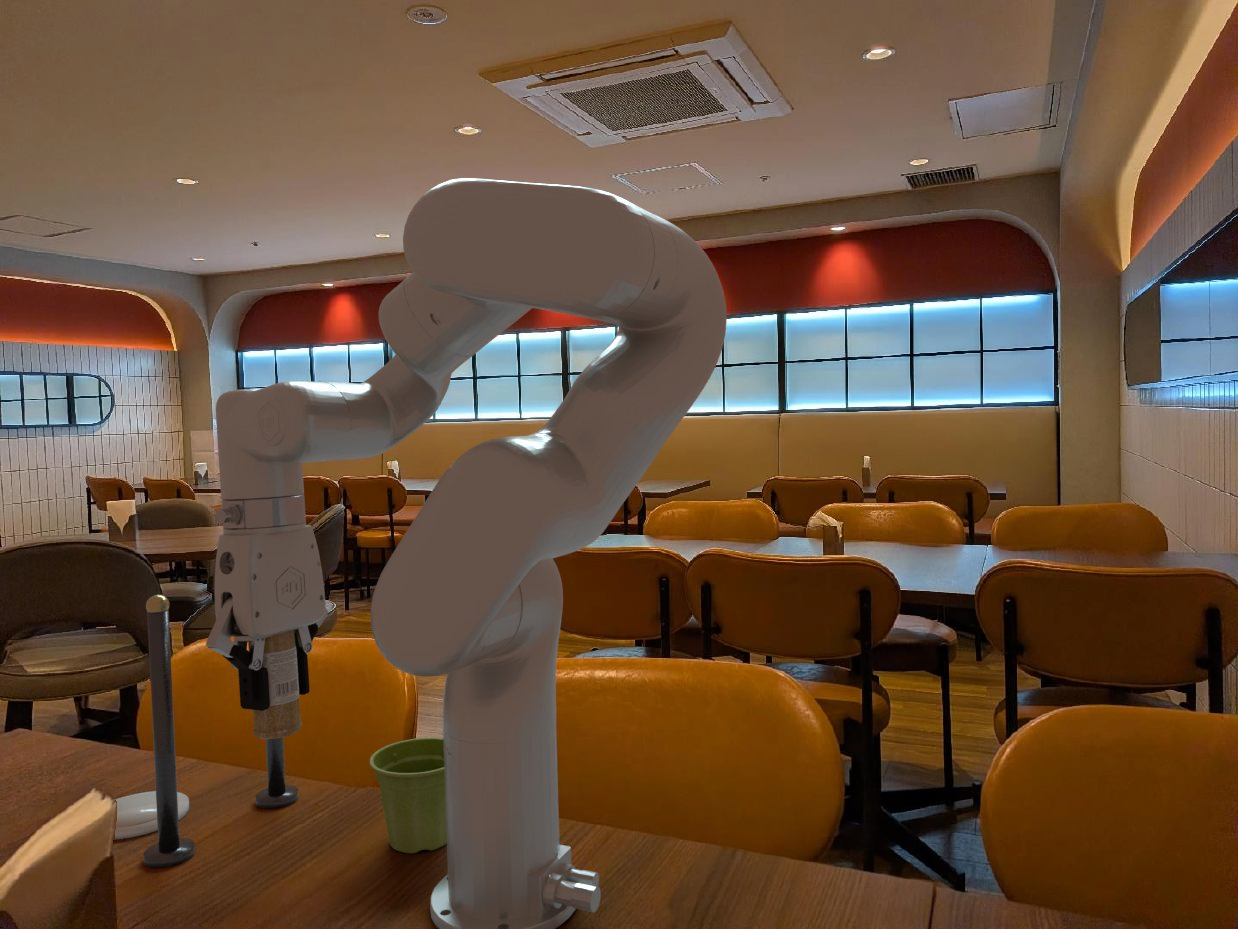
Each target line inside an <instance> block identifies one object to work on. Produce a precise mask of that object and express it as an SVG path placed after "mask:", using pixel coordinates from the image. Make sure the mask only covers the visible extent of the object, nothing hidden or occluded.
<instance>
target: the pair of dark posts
mask: <svg viewBox="0 0 1238 929" xmlns="http://www.w3.org/2000/svg"><path fill="white" fill-rule="evenodd" d="M145 609H146V614H147V615H146V616H147V635H148V637H147V638H148V654H149V655H148V656H149V657H148V658H149V673H150V674H149V675H150V677H149V678H150V693H151V694H150V695H151V696H150V697H151V700H150V701H151V717H152V719H151V720H152V737H153V758H154V761H153V762H154V777H155V778H154V779H155V791H156V804H157V825H158V830H157V841H158V842H156V843H154V844H152V845H150V846H149V847H148V848H146V849H145V850H144V852H143V854H142V855H143V865H144V866H145V867H147V868H150V869H163V868H169V867H174V866H177V865H180V864H182V863H185V862H187V861H188V860H189V859H191V858H192V857H193V856H194V855H195V854H196V852H195V851H196V848H195V846H196V844H195V843H196V842H195V841H194V840H193V839H192V838H188V837H180V827H179V825H180V824H179V820H178V800H177V792H178V782H177V781H178V779H177V762H176V760H177V759H176V744H175V743H176V740H175V738H176V737H175V718H174V698H173V695H174V694H173V679H172V678H173V677H172V676H173V675H172V656H171V655H172V652H171V634H170V614H169V609H170V601H169V599H168V598H167V597H166V596H164V595H163V594H155V595H153V596H151V597H149V598H148V599H147V600H146V603H145ZM284 743H285V742H284V737H282V738H276V739H265V752H266V775H267V776H266V777H267V788H264V789H262V790H260V791H259V792H257V793H256V794H255V805H256V807H257V808H259V809H263V810H265V809H267V810H271V809H280V808H283V807H286V806H289V805H292V804H293V803H295V802H296V801H297V800H298V799H299V789H298V787H296V786H295V785H290V784H286V770H285V767H286V766H285V747H284Z"/></svg>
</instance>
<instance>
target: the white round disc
mask: <svg viewBox="0 0 1238 929" xmlns="http://www.w3.org/2000/svg"><path fill="white" fill-rule="evenodd" d="M114 800H116V801H117V822H116V830H115V839H114V840H123V839H124V838H125V839H131V838H136V837H140V836H144V835H147V834H151V833H154V832H158V825H157V804H156V790H153V791H145V792H139V793H134V794H130V795H126V796H122V797H118V798H115V799H114ZM177 800H178V821H180V820H182V819H183V818H184V817H185V816H186V815H187V814H188V813H189V811H190V798H189V797H188V796H187V795H186V794H184V793H182V792H179V791H177Z"/></svg>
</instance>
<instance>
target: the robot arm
mask: <svg viewBox="0 0 1238 929" xmlns="http://www.w3.org/2000/svg"><path fill="white" fill-rule="evenodd" d="M403 227H404V229H403V235H402V244H403V245H402V247H403V248H402V249H403V253H404V258H405V261H406V262H407V264H408V266H409V269H410V271H411V272H412V273H410V274H409V275H407V277H406V278H405V279H404V280H402V282H400V283H399V284H398V285H397V286H396V287H394V288H393V289H392V290H391V291H390V292H389V293H387V294H386V295H385V296H384V298H383V299H382V300H381V303H380V305H379V309H378V322H379V326H380V329H381V333H382V336H383V337H384V339H385V340H386V342H387V345H389V347H390V349H391V350H392V352H393V353H394V354H395V355H393V357H392V358H391V359H390V360H389V361H388V362H387V363H385V365H383V366H382V367H381V368H380V369H378V370H377V371H376V372H375V373H373V374H372V375H371V376H369V377H368V378H367V379H365V380H363V381H362V382H360V383H357V382H339V381H335V382H334V381H322V380H321V381H320V380H319V381H309V380H287V381H281V382H277V383H274V384H271V385H267V386H265V387H262V388H244V389H234V390H228V391H226V392H224V393H222V394H221V395H220V396H219V397H218V398H217V401H216V405H215V419H216V420H215V421H216V438H217V454H218V467H219V468H218V470H219V485H220V499H221V508H219V509H217V511H216V512H215V521H217V523H219V524H222V532H223V533H222V534H219V537H218V542H217V550H216V556H215V557H216V558H215V566H214V567H215V568H214V570H215V571H214V611H215V612H214V613H215V623H214V624H213V627H212V628H211V631H210V633H209V636H208V637H207V639H206V643H205V646H206V647H207V648H208V649H210V650H212V651H213V652H216V653H217V654H219V655H222V657H223V658H224V659H226V660H227V661H228V662H229V663H230V665H231V667H232V668H233V669H236V670H237V669H238V687H239V702H240V704H239V705H240V707H241V709H243V710H252V711H253V710H259V711H264V710H266V709H268V708H269V706H270V697H269V681H268V670H267V668H262V667H261V666H262V661H263V652H264V644H265V638H267V637H271V636H275V635H278V634H281V633H285V632H288V631H292V630H294V637H295V645H296V652H297V666H298V682H299V696H300V695H302V696H305V695H307V694H309V693H310V678H309V676H310V674H309V662H308V661H309V657H308V654H309V653H311V652H312V650H313V643H312V642H313V640H315V636H316V635H317V633H318V630H319V628H320V626H322V624H323V623H324V621H325V620H326V618H327V617H328V614H329V612H328V610H327V608H326V595H325V584H324V576H323V575H324V574H323V568H322V562H321V558H320V550H319V547H318V543H317V539H316V536H315V533H314V532H315V531H314V530H313V526H312V525H309V524H307V520H306V519H307V518H306V517H307V515H306V503H305V501H306V500H305V487H304V484H305V483H304V472H303V471H304V470H303V469H304V468H303V463H304V464H306V463H309V464H310V463H321V462H322V463H324V462H329V461H347V460H365V459H369V458H375V457H376V456H379V455H382V454H384V453H385V452H388V451H389V450H391V449H393V448H394V447H396V446H397V445H399V444H400V443H401V442H403V441H404V440H405V439H407V438H408V437H409V436H410V435H412V434H413V433H414V432H416V431H417V430H418V429H419V428H421V427H422V426H423V425H424V424H426V423H427V422H428V421H429V420H430V419H431V418H433V416H434V414H436V412H437V411H438V409H439V407H440V406H441V404H442V402H443V400H444V398H445V396H446V394H447V392H448V389H449V387H450V383H451V378H452V374H453V373H454V372H455V371H456V370H457V369H458V368H460V367H461V366H462V365H463V364H464V363H465V362H467V361H468V360H470V358H472V357H473V356H474V355H475V354H477V353H478V352H480V350H482V349H483V348H485V347H486V346H487V345H488V344H489V343H491V342H492V341H493V340H494V339H495V338H497V337H498V336H499V335H500V334H502V333H503V332H505V331H506V330H507V329H508V328H509V327H511V326H512V325H513V324H515V323H516V322H517V321H518V320H519V319H521V318H522V317H523V316H525V314H527V313H528V312H530V311H531V310H532V309H537V310H543V311H548V312H553V313H560V314H564V315H565V314H566V315H569V316H570V315H571V316H575V317H580V318H584V319H589V320H595V321H599V322H604V323H608V324H610V325H611V324H612V325H617V326H618V331H617V333H616V335H615V336H614V338H613V340H611V342H610V343H609V344H608V345H607V347H606V348H604V350H602V351H601V352H600V353H599V354H598V355H597V356H596V357H595V358H593V359H592V361H591V362H590V363H589V364H587V366H586V367H585V368H584V369H583V370H582V371H581V373H580V374H579V375H578V376H577V378H576V379H575V381H574V382H573V383H572V385H571V387H570V389H569V391H568V392H567V394H566V396H565V397H564V399H563V400H562V402H560V404H559V405H558V407H557V408H556V410H555V412H554V413H553V414H552V415H551V417H550V418H549V419H548V420H547V422H545V424H544V425H543V426H542V427H541V428H540V429H538V431H536V432H534V433H532V434H529V435H517V436H515V435H514V436H513V435H512V436H503V437H498V438H492V439H489V440H485V441H483V442H480V443H479V444H476V445H474V446H472V447H471V448H470V449H468V450H466V451H465V452H464V453H463V454H462V455H460V456H459V457H458V458H456V459H455V461H454V462H453V463H451V464H450V465H449V467H448V468H447V469H446V470H445V471H444V473H443V474H442V475H441V477H440V478H439V480H438V481H437V483H436V485H435V486H434V487H433V489H432V490H431V492H430V494H429V495H428V497H427V499H426V500H425V501H424V503H423V504H422V507H421V508H420V509H419V511H418V512H417V514H416V516H415V517H414V519H413V520H412V522H411V524H410V525H409V527H408V528H407V530H406V532H405V534H404V535H403V537H402V538H401V540H400V541H399V543H398V545H397V547H395V549H394V551H393V552H392V553H391V556H390V558H388V561H387V562H386V564H385V566H384V568H383V570H382V571H381V573H380V576H379V578H378V580H377V583H376V586H375V587H374V591H373V594H372V598H371V606H370V626H371V631H372V636H373V639H374V641H375V645H376V646H377V648H378V650H379V652H380V654H381V655H382V656H383V657H384V659H385V660H386V661H387V662H388V663H389V664H390V665H392V666H393V667H394V668H396V669H397V670H400V671H401V672H403V673H406V674H407V675H412V676H417V677H422V678H425V677H429V678H431V677H439V676H444V675H446V677H445V682H444V688H443V690H444V691H443V699H442V726H443V727H442V736H443V737H442V738H443V745H444V774H445V803H446V833H447V843H446V853H447V854H446V856H447V857H446V860H447V874H446V875H445V876H444V877H443V878H442V879H441V880H440V881H438V882H437V884H436V885H435V887H433V890H432V892H431V895H430V898H429V899H430V900H429V905H430V906H429V911H430V916H431V917H430V918H431V920H432V922H433V923H434V926H436V927H437V928H438V929H556V928H559V927H560V926H561V925H562V924H564V922H566V921H567V920H568V919H570V917H571V916H572V915H573V913H574V912H575V911H576V909H577V910H580V911H585V912H589V913H596V912H597V911H598V908H599V907H600V902H601V895H602V894H601V888H600V887H599V883H600V874H599V873H598V872H597V871H592V870H588V869H587V870H586V869H578V868H576V867H575V865H573V864H572V848H571V846H569V845H563V844H560V820H559V819H560V817H559V815H560V814H559V813H560V812H559V786H558V785H559V784H558V783H559V778H558V777H559V776H558V747H557V746H558V745H557V742H558V741H557V740H558V738H557V696H556V695H557V692H556V691H557V684H556V681H557V656H558V648H559V638H560V631H561V625H562V617H563V607H564V588H563V583H562V578H561V574H560V571H559V569H558V566H557V564H556V562H555V560H554V559H555V558H559V557H562V556H565V555H566V556H567V555H569V554H572V553H575V552H577V551H581V550H582V549H584V548H586V547H588V546H590V545H591V544H592V543H594V542H596V540H598V539H599V537H600V536H601V535H602V534H603V533H604V532H605V530H606V529H607V528H608V526H609V525H610V523H611V522H612V520H613V519H614V518H615V516H616V514H617V513H618V511H619V510H620V508H621V507H622V505H623V504H624V502H626V500H627V498H628V497H629V496H630V495H631V493H632V492H633V490H634V489H635V487H636V486H637V485H638V483H639V482H640V480H641V479H642V478H643V476H644V475H645V473H646V472H647V470H648V469H649V468H650V466H651V465H652V464H653V462H654V461H655V459H656V457H657V456H658V455H659V453H660V451H661V450H662V448H663V446H664V445H665V444H666V442H667V441H668V440H669V438H670V437H671V436H672V434H673V432H675V430H676V428H677V427H678V425H680V423H681V422H682V420H683V419H684V418H685V416H686V415H687V413H688V412H689V410H691V408H692V406H693V405H694V404H695V402H696V400H697V399H698V398H699V396H700V395H701V393H702V392H703V390H704V389H705V387H706V386H707V383H708V382H709V380H710V378H711V376H712V374H713V373H714V371H715V369H716V366H717V364H718V362H719V359H720V356H721V353H722V350H723V347H724V342H725V339H726V338H725V337H726V331H727V304H726V299H725V292H724V289H723V286H722V283H721V281H720V277H719V274H718V272H717V270H716V268H715V266H714V264H713V262H712V260H710V257H709V256H708V254H707V253H706V252H705V250H704V249H703V248H702V247H701V246H700V244H699V243H698V242H697V241H696V240H694V238H692V237H691V236H690V235H689V234H687V233H686V232H685V231H684V230H683V229H681V228H680V227H679V226H677V225H675V224H674V223H671V221H669V220H666V219H664V218H663V217H660V216H658V215H656V214H654V213H652V212H650V211H648V210H646V209H644V208H643V207H640V206H638V205H636V204H634V203H632V202H631V201H629V200H626V199H624V198H623V197H621V196H618V195H617V194H613V193H611V192H608V191H604V190H601V189H596V188H591V187H583V186H577V185H565V184H550V183H549V184H548V183H534V182H521V181H512V180H511V181H509V180H499V179H498V180H497V179H488V178H474V177H472V178H471V177H461V178H454V179H449V180H447V181H444V182H442V183H439V184H437V185H436V186H434V187H432V188H431V189H429V190H428V191H426V192H425V193H424V194H423V195H422V196H421V197H420V198H419V199H418V201H416V203H415V204H414V206H413V207H412V208H411V211H410V212H409V214H408V215H407V218H406V221H405V224H404V226H403ZM232 637H233V640H232V639H231V638H232ZM248 642H251V645H250V652H249V649H247V648H248Z"/></svg>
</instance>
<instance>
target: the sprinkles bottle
mask: <svg viewBox="0 0 1238 929" xmlns="http://www.w3.org/2000/svg"><path fill="white" fill-rule="evenodd" d="M294 633H295V631H294V630H292V631H288V632H285V633H281V634H278V635H275V636H271V637H267V638H265V644H264V652H263V661H262V666H261V667H262V668H267V670H268V681H269V697H270V706H269V708H268V709H266V710H264V711H259V710H252V714H253V726H254V727H253V736H254V737H256V738H258V739H261V740H266V739H276V738H282V737H283V738H287V737H290V736H292V735H294V734H296V733H298V732H299V731H301V729H302V726H303V723H302V721H301V714H300V713H301V711H300V708H301V707H300V699H299V698H300V695H299V682H298V666H297V652H296V645H295V637H294ZM250 645H251V642H247V647H248V651H249V652H250Z"/></svg>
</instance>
